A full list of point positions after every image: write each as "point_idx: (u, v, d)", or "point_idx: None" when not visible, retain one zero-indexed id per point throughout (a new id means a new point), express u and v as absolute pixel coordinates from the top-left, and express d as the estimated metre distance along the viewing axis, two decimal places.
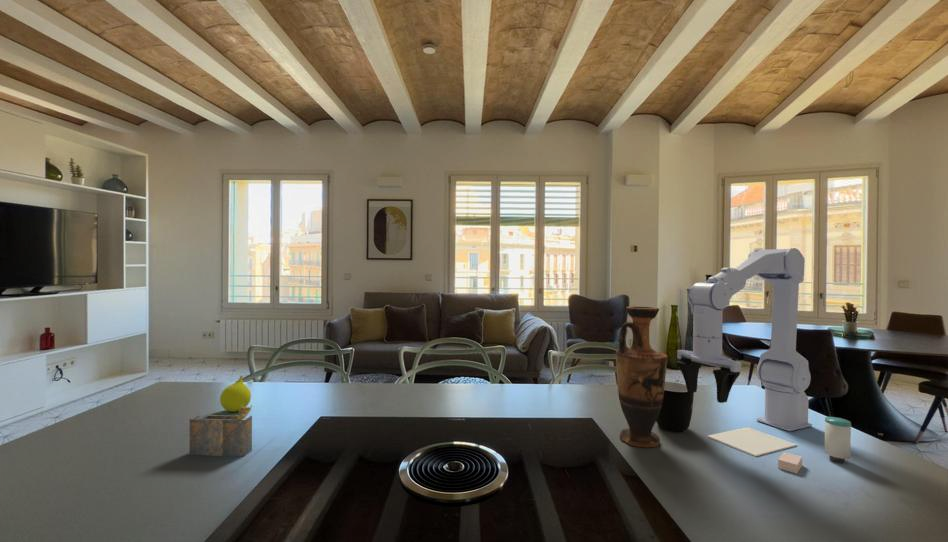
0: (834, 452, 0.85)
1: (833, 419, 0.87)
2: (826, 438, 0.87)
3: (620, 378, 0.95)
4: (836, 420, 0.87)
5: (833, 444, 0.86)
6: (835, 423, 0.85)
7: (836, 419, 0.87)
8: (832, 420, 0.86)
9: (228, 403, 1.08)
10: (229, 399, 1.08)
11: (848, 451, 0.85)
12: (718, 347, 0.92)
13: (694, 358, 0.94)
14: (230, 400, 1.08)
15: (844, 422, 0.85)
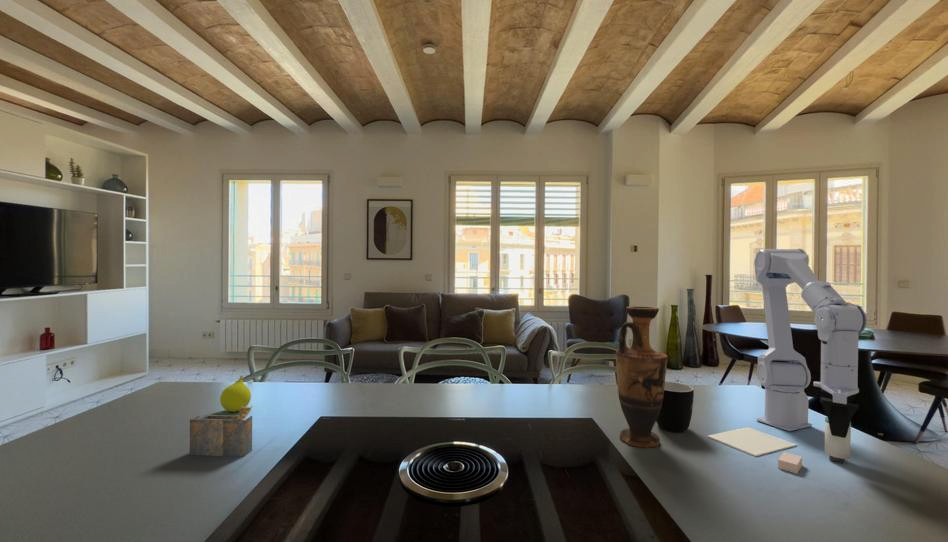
0: (834, 452, 0.85)
1: None
2: (826, 438, 0.87)
3: (620, 378, 0.95)
4: None
5: (833, 444, 0.86)
6: None
7: None
8: None
9: (228, 403, 1.08)
10: (229, 399, 1.08)
11: (848, 451, 0.85)
12: (837, 376, 0.84)
13: (813, 383, 0.89)
14: (230, 400, 1.08)
15: None
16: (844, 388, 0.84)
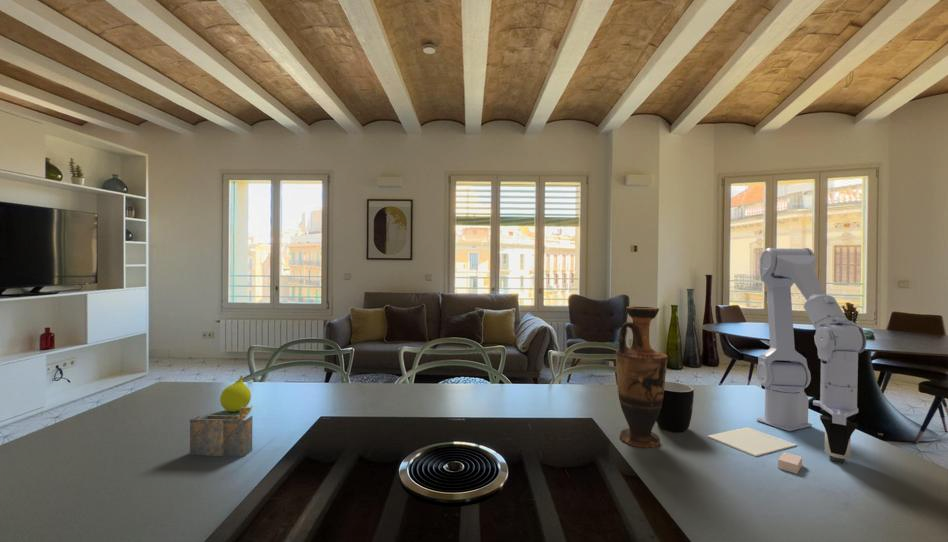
0: None
1: None
2: (826, 438, 0.87)
3: (620, 378, 0.95)
4: None
5: None
6: None
7: None
8: None
9: (228, 403, 1.08)
10: (229, 399, 1.08)
11: (848, 451, 0.85)
12: (837, 396, 0.85)
13: (813, 402, 0.89)
14: (230, 400, 1.08)
15: None
16: (844, 408, 0.84)
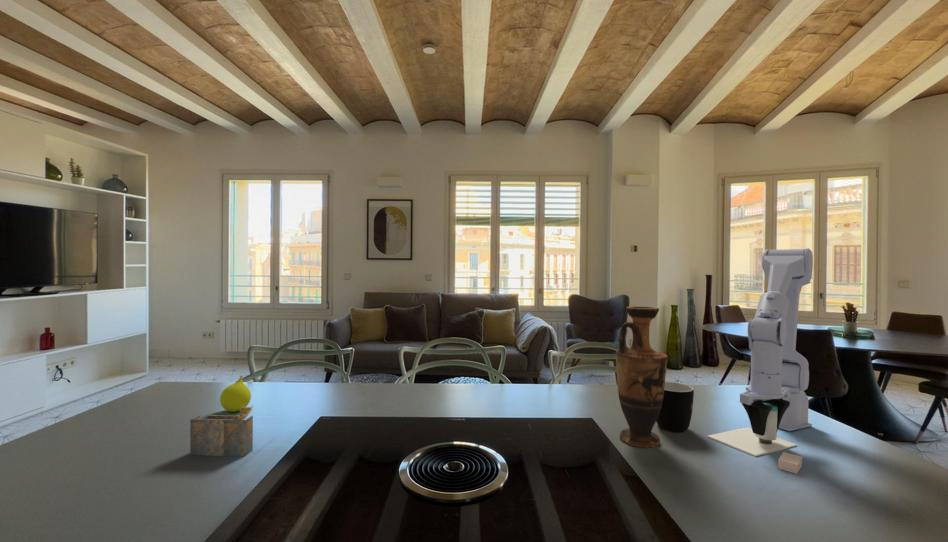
0: None
1: None
2: None
3: (620, 378, 0.95)
4: None
5: None
6: None
7: None
8: None
9: (228, 403, 1.08)
10: (229, 399, 1.08)
11: (770, 433, 0.93)
12: (756, 381, 0.94)
13: None
14: (230, 400, 1.08)
15: None
16: (761, 393, 0.93)
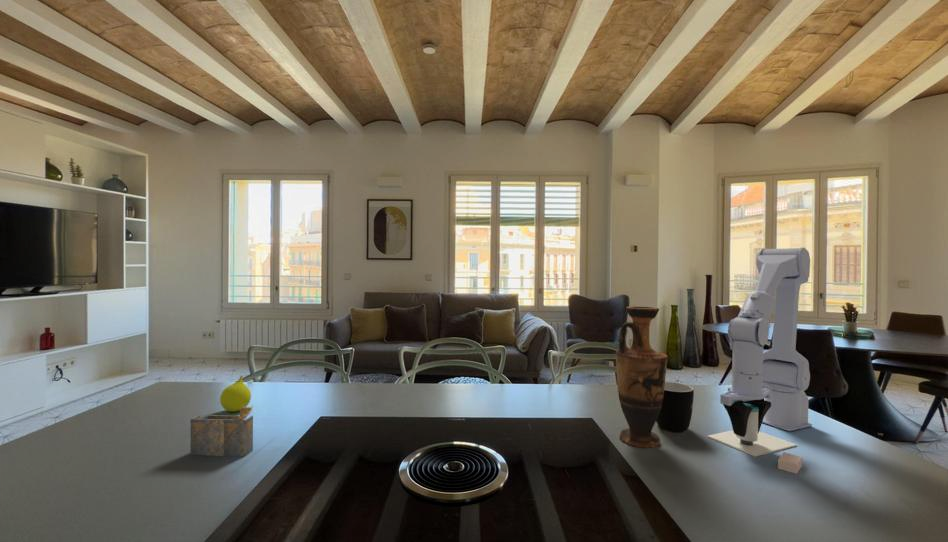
0: None
1: None
2: None
3: (620, 378, 0.95)
4: None
5: None
6: None
7: (747, 405, 0.94)
8: None
9: (228, 403, 1.08)
10: (229, 399, 1.08)
11: (751, 434, 0.92)
12: (737, 382, 0.93)
13: None
14: (230, 400, 1.08)
15: None
16: (742, 393, 0.92)
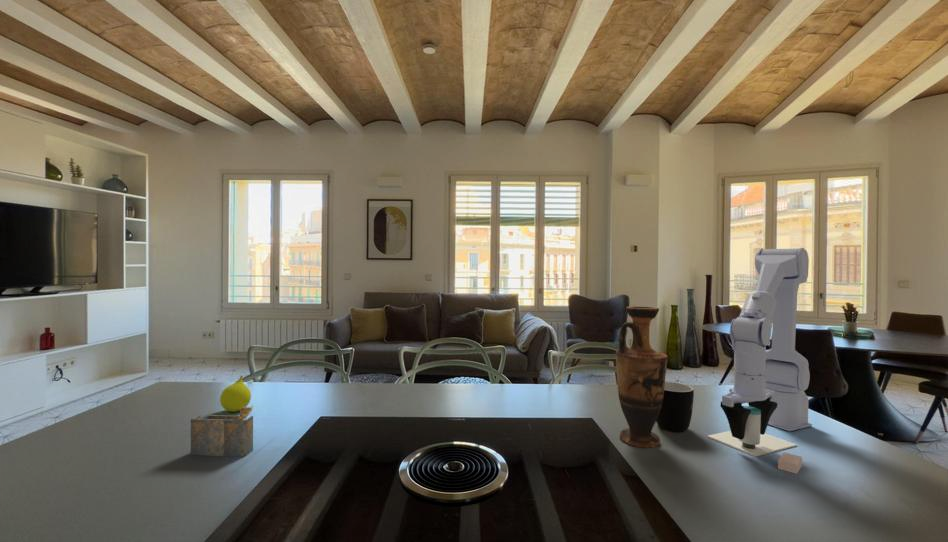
0: None
1: (746, 407, 0.93)
2: None
3: (620, 378, 0.95)
4: (747, 408, 0.92)
5: None
6: None
7: (749, 408, 0.92)
8: None
9: (228, 403, 1.08)
10: (229, 399, 1.08)
11: (754, 438, 0.90)
12: (739, 383, 0.91)
13: None
14: (230, 400, 1.08)
15: (752, 410, 0.91)
16: (744, 394, 0.90)
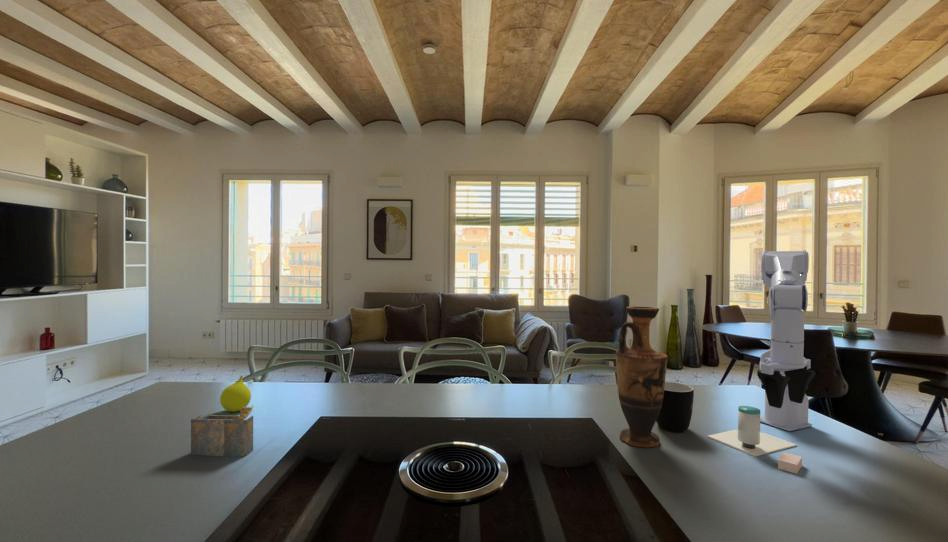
0: (741, 437, 0.92)
1: (745, 407, 0.93)
2: (738, 424, 0.93)
3: (620, 378, 0.95)
4: (747, 408, 0.92)
5: (740, 430, 0.92)
6: (741, 410, 0.92)
7: (748, 408, 0.92)
8: (742, 408, 0.93)
9: (228, 403, 1.08)
10: (229, 399, 1.08)
11: (753, 438, 0.90)
12: (777, 351, 0.90)
13: None
14: (230, 400, 1.08)
15: (751, 410, 0.91)
16: (783, 362, 0.89)
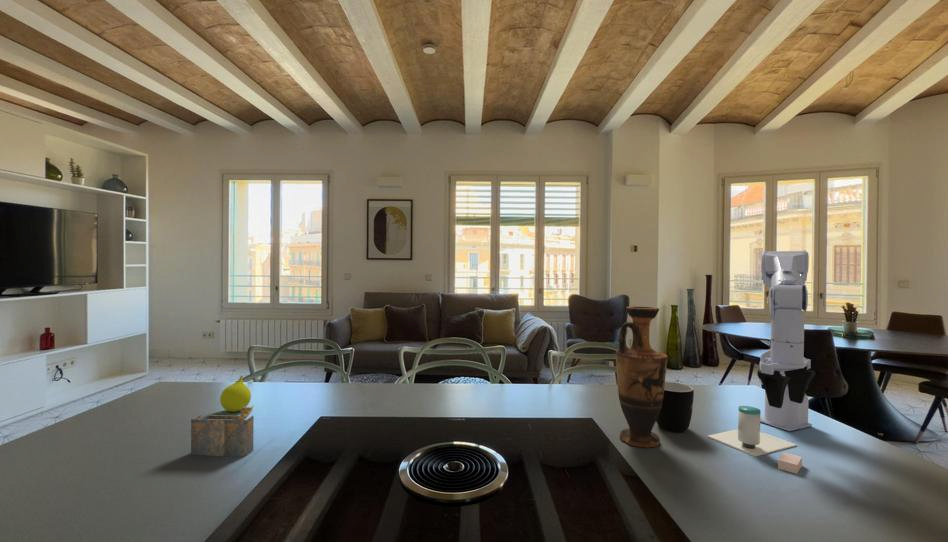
0: (741, 437, 0.92)
1: (746, 407, 0.93)
2: (738, 424, 0.93)
3: (620, 378, 0.95)
4: (747, 408, 0.92)
5: (740, 430, 0.92)
6: (742, 410, 0.92)
7: (749, 408, 0.92)
8: (742, 408, 0.92)
9: (228, 403, 1.08)
10: (229, 399, 1.08)
11: (753, 438, 0.90)
12: (777, 351, 0.90)
13: None
14: (230, 400, 1.08)
15: (751, 410, 0.91)
16: (783, 362, 0.89)
